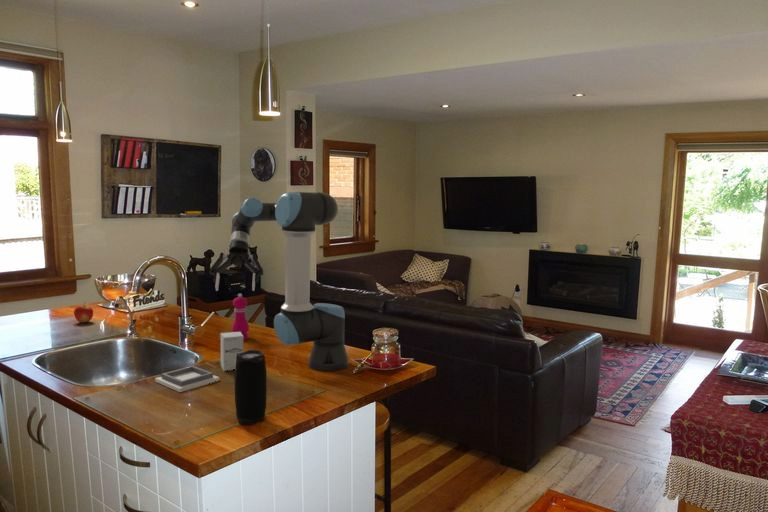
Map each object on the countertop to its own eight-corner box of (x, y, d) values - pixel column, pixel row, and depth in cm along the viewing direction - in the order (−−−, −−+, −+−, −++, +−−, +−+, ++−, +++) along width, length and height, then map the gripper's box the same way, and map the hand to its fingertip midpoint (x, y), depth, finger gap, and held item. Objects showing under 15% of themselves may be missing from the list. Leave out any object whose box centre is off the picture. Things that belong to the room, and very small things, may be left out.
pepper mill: (228, 339, 246) (227, 294, 244) (238, 335, 253) (238, 291, 250) (242, 341, 243) (241, 295, 241) (252, 337, 250) (251, 292, 248)
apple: (82, 320, 275) (81, 300, 274) (97, 321, 274) (96, 300, 273) (70, 324, 267) (69, 303, 266) (86, 325, 266) (85, 304, 265)
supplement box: (223, 371, 203) (222, 337, 201) (220, 365, 210) (220, 332, 208) (244, 369, 206) (243, 335, 204) (240, 363, 213) (240, 330, 211)
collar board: (219, 380, 194) (219, 372, 193) (179, 392, 182) (179, 384, 182) (194, 371, 203) (194, 363, 203) (155, 381, 191) (155, 373, 191)
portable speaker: (230, 425, 157) (229, 357, 155) (242, 412, 167) (241, 348, 164) (260, 427, 157) (260, 358, 154) (270, 414, 166) (270, 349, 164)
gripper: (271, 251, 232) (268, 294, 220) (208, 250, 229) (202, 294, 216) (270, 239, 226) (267, 283, 214) (206, 238, 223) (199, 283, 210)
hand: (235, 288), depth 215 cm, fingers open, 13 cm apart
